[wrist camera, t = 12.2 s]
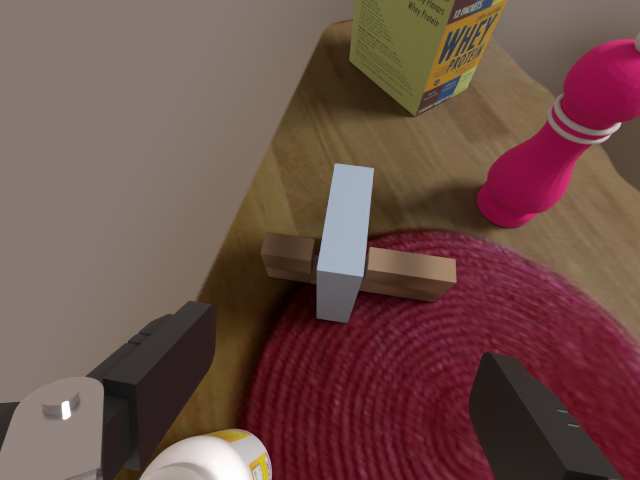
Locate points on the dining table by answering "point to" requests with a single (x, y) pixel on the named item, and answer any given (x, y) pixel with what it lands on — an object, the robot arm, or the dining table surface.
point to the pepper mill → (565, 134)
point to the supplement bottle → (213, 458)
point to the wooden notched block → (379, 270)
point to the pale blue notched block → (344, 242)
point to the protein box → (421, 46)
